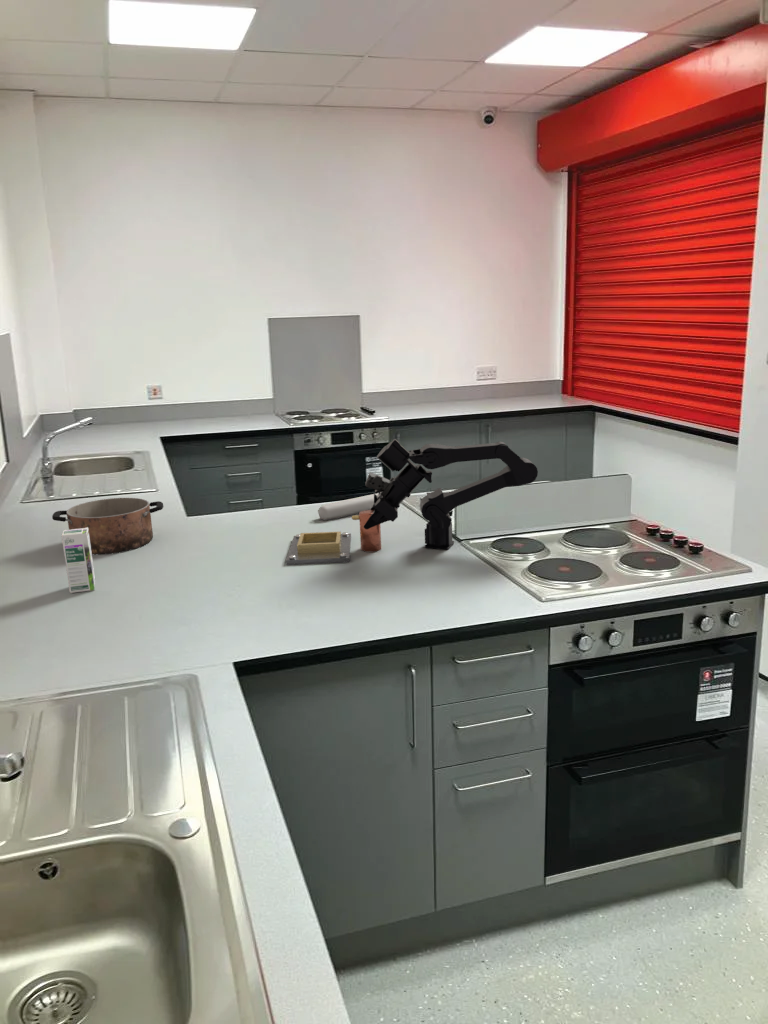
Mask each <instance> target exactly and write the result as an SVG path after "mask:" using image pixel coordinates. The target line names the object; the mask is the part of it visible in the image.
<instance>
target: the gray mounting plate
mask: <svg viewBox="0 0 768 1024" xmlns="http://www.w3.org/2000/svg"><path fill="white" fill-rule="evenodd" d="M351 541H352V533H349V532H348V531H347V532H342V531H321V532H319V531H318V532H301V533H300V534H299V533H298V534H296V535H294V536H293V537H292V541H291V544H290V546H289V550H288V553H287V556H286V559H285V564H286V565H287V566H289V565H290V566H291V565H313V564H314V565H315V564H316V565H317V564H318V565H319V564H337V563H339V564H340V563H350V555H351Z"/></svg>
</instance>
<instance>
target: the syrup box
mask: <svg viewBox="0 0 768 1024" xmlns="http://www.w3.org/2000/svg"><path fill="white" fill-rule="evenodd" d="M61 541H62V548H63V549H62V550H63V555H64V561H65V568H66V574H67V575H66V576H67V581H68V590H69V594H75V593H81V592H83V593H84V592H89V591H90V592H92V591H95V588H96V578H95V569H94V561H93V555H92V552H91V545H90V537H89V530H88V527H87V528H81V529H71V530H69V529H64V530H63V531H62V534H61Z"/></svg>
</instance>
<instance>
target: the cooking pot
mask: <svg viewBox="0 0 768 1024" xmlns="http://www.w3.org/2000/svg"><path fill="white" fill-rule="evenodd" d="M150 507H151V508H150ZM163 508H164V503H163V502H162V501H152V502H151V501H150V502H149V501H148V500H147V499H142V498H138V497H112V498H111V497H110V498H103V499H97V500H96V499H95V500H90V501H86V502H83V503H79V504H77V505H74V506H71V507H69V508H68V509H67V510H57V511H55V512H54V513H53V514H52V515H51V516H52V520H53V521H57V522H63V523H64V522H67V525H68V530H71V529H81V528H87V527H88V530H89V537H90V545H91V552H92V554H94V556H95V555H96V554H98V556H99V555H109V554H110V555H111V554H112V553H113V554H119V552H120V553H124V552H129V550H130V551H132V550H136V549H139V547H140V548H142V547H144V545H145V546H146V544H147V545H148V544H150V543H151V542H150V541H152V540H153V538H154V533H153V531H154V530H153V524H152V515H151V514H154V513H156V512H159V511H161V510H163ZM65 515H66V516H65ZM149 542H150V543H149Z"/></svg>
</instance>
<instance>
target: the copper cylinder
mask: <svg viewBox="0 0 768 1024" xmlns="http://www.w3.org/2000/svg"><path fill="white" fill-rule="evenodd" d="M373 511H374V510H365V511H361V512H359V514H354V515H351V519H352V520H354V521H357V520H359V539H360V540H359V541H360V551H362V552H366V553H367V552H368V553H371V552H372V553H373V552H374V553H375V552H378V551H381V550H382V534H381V524H379V525H376V526H374V527H371V528H369V529H365V528H364V525H365V523H366V522H367V520H368V519H369V517H370V516H371V514H372V513H373Z"/></svg>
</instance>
